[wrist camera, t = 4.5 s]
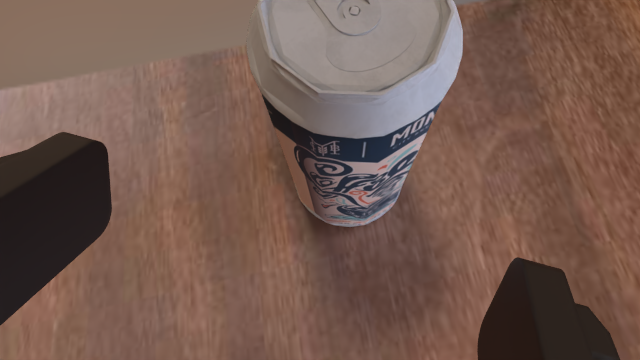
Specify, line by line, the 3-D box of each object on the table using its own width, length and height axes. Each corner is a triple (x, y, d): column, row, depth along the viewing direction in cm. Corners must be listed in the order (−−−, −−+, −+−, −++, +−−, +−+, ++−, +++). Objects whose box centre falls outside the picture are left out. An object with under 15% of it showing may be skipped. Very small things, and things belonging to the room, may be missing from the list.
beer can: (331, 250, 20) (317, 165, 9) (274, 161, 21) (195, -17, 10) (423, 191, 21) (525, 36, 9) (363, 107, 22) (386, -122, 10)
